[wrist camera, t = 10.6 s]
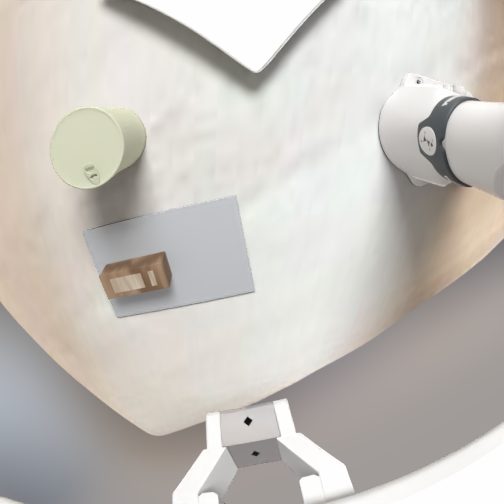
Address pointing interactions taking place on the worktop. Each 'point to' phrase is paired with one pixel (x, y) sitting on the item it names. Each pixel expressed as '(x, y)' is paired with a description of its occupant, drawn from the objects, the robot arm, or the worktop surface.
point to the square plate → (241, 24)
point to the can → (96, 145)
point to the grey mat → (180, 253)
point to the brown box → (136, 275)
